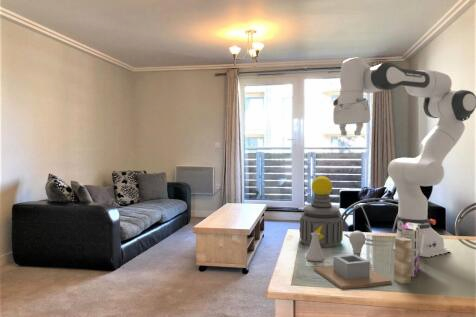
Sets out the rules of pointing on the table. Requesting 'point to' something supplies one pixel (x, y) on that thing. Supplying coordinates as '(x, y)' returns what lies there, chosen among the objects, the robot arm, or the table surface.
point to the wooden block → (402, 260)
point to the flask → (315, 249)
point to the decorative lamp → (321, 217)
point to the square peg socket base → (351, 272)
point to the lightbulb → (357, 242)
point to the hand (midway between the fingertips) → (350, 135)
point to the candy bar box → (413, 244)
